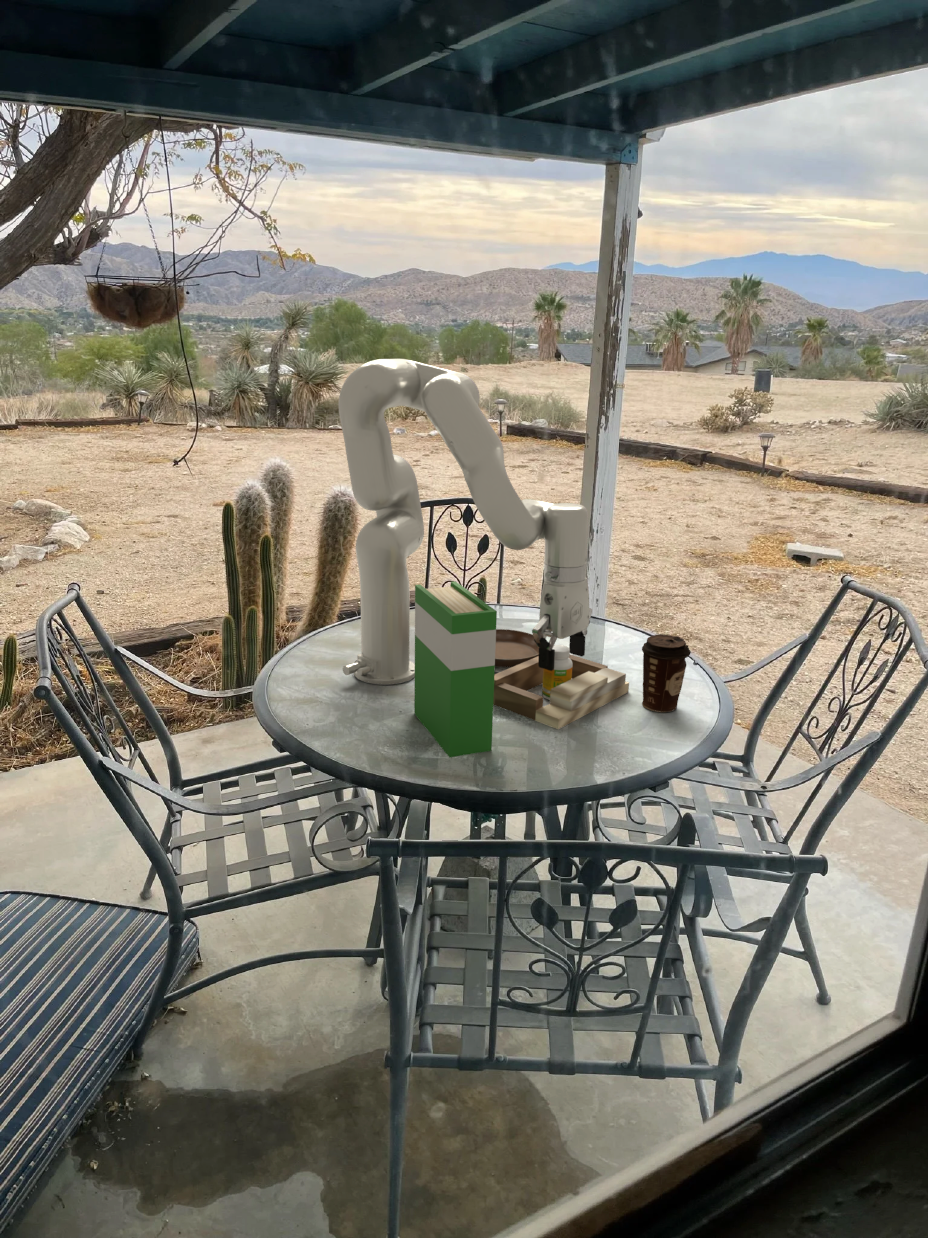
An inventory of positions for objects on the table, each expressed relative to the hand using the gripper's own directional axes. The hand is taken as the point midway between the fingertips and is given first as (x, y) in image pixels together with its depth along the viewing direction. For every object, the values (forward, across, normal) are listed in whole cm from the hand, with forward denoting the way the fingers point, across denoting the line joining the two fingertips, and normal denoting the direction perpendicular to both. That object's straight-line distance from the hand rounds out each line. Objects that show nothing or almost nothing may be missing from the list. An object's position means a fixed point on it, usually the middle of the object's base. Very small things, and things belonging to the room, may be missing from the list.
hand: (561, 661), depth 158 cm
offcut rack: (+7, 0, +1) cm, 7 cm away
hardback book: (+7, -25, +5) cm, 27 cm away
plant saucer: (+7, +10, +22) cm, 25 cm away
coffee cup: (+8, +10, -16) cm, 20 cm away
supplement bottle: (+7, 0, +1) cm, 7 cm away
